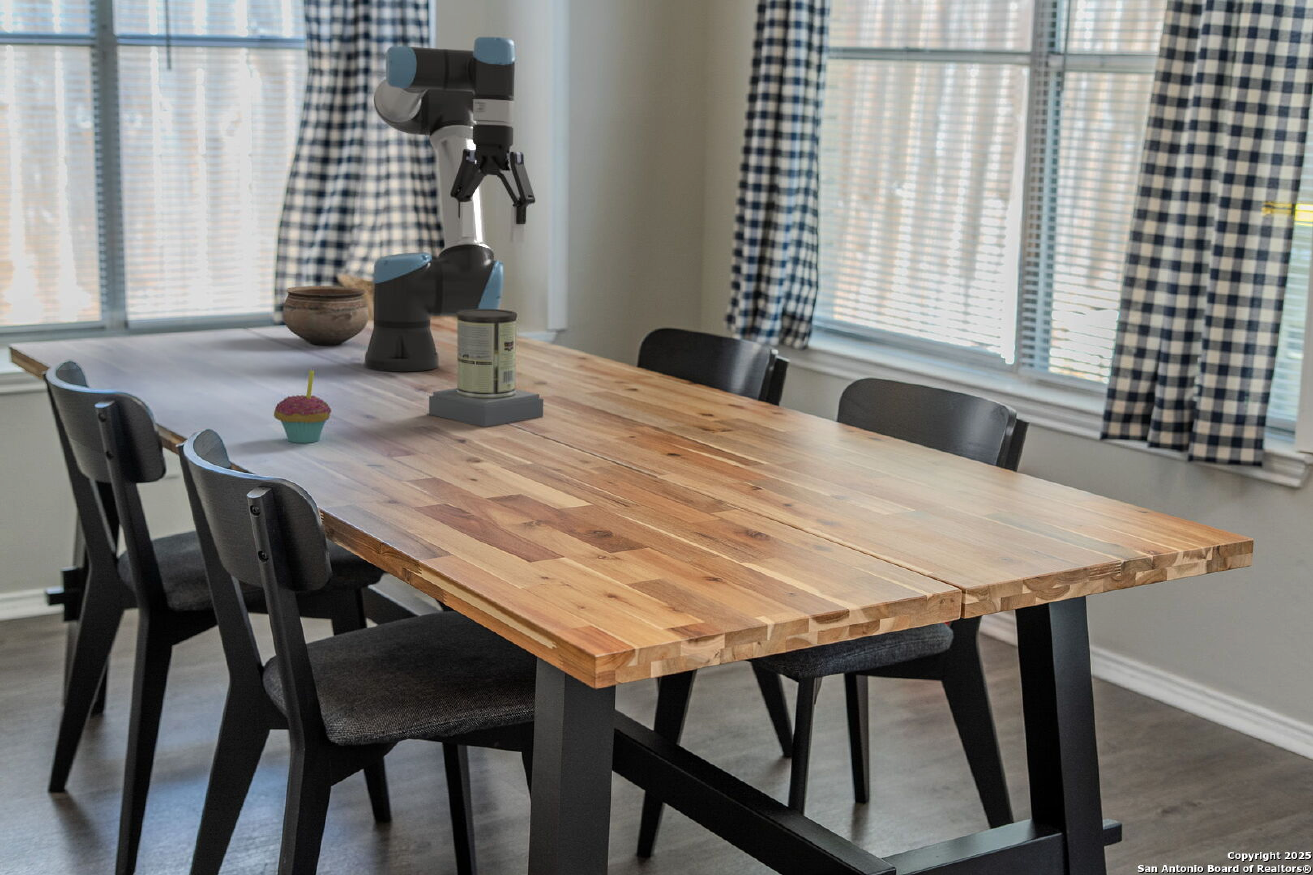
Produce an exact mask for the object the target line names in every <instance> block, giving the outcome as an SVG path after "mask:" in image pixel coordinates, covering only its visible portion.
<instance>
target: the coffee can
mask: <svg viewBox="0 0 1313 875" xmlns="http://www.w3.org/2000/svg"><path fill="white" fill-rule="evenodd" d="M456 317H457V320H456V321H457V330H456V331H457V339H456V340H457V342H456V343H457V345H456V346H457V348H456V349H457V351H456V352H457V360H456V361H457V362H456V363H457V368H456V370H457V372H456V374H457V379H456V380H457V381H456V382H457V384H456V386H457V387H456V388H457V393H458V394H460V395H463V396H468V397H476V398H501V397H508V396H511V395H514V394H515V389H516V355H517V354H516V353H517V351H516V350H517V349H516V346H517V317H518V313H517V312H516V311H512V310H507V309H499V308H498V309H469V310H461V311H458V312H457V316H456Z"/></svg>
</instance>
